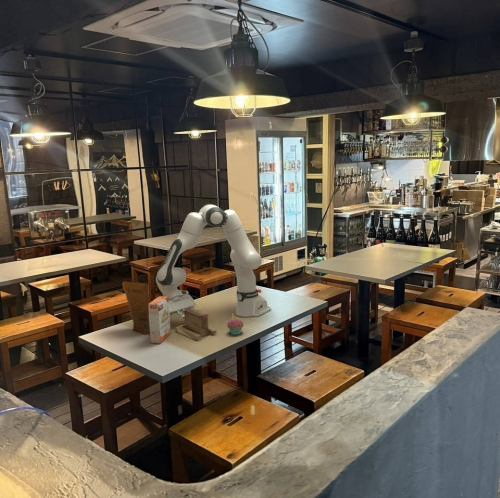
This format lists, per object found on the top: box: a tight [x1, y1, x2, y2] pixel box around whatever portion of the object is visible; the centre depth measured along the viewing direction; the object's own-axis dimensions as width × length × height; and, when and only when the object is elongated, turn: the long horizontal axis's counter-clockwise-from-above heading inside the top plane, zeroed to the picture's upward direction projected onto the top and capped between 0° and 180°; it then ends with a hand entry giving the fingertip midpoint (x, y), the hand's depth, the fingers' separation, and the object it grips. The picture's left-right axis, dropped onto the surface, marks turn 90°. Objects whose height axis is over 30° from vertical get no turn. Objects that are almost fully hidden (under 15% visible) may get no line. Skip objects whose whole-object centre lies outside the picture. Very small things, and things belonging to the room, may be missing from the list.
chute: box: [175, 323, 218, 342], centre depth 242 cm, size 12×20×2 cm, turn 43°
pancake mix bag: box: [121, 281, 151, 335], centre depth 244 cm, size 7×19×28 cm, turn 52°
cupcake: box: [226, 312, 244, 336], centre depth 239 cm, size 9×8×12 cm
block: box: [184, 308, 210, 339], centre depth 240 cm, size 5×14×12 cm, turn 43°
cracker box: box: [148, 295, 171, 345], centre depth 234 cm, size 14×6×21 cm, turn 168°
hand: (184, 318), depth 248 cm, fingers closed
